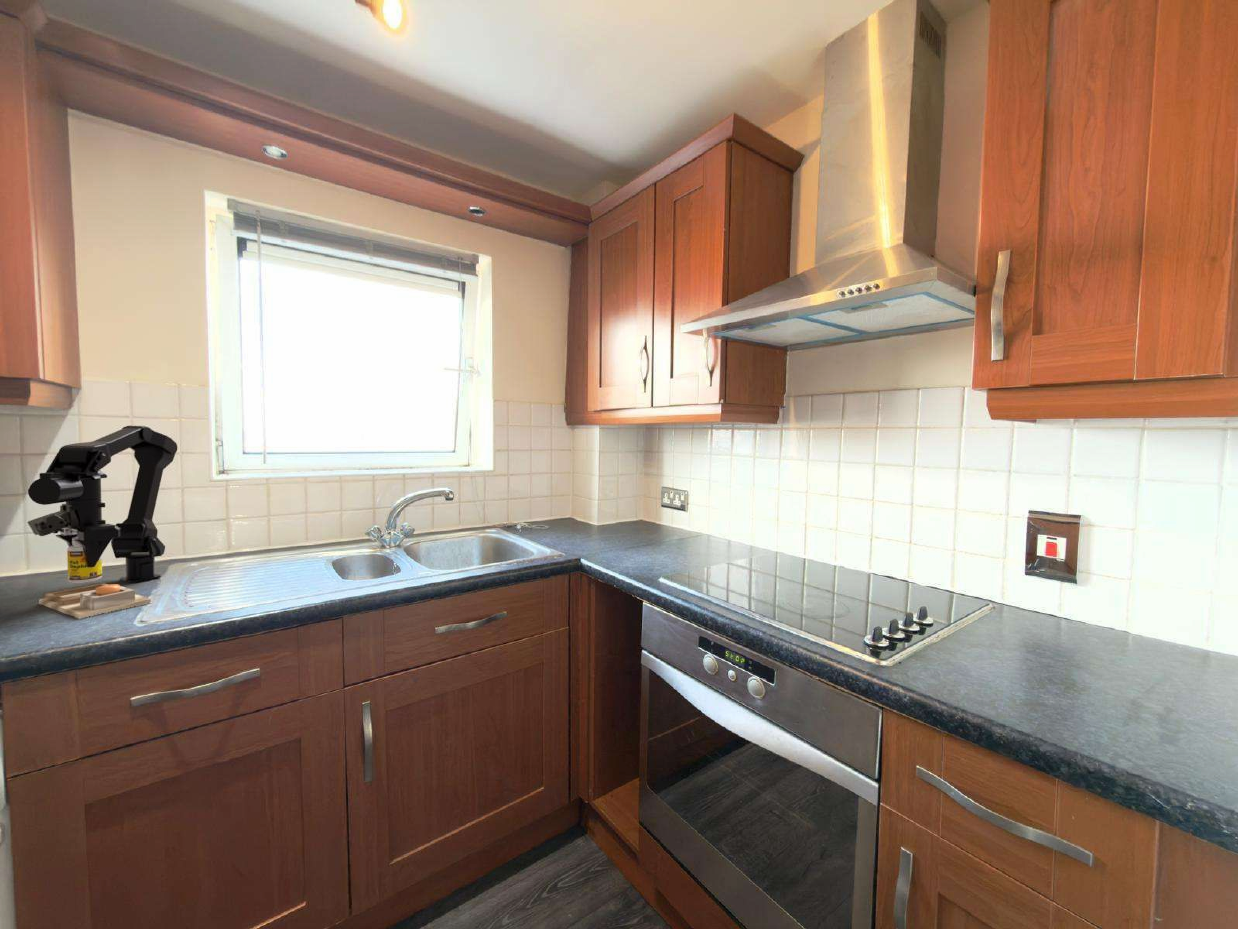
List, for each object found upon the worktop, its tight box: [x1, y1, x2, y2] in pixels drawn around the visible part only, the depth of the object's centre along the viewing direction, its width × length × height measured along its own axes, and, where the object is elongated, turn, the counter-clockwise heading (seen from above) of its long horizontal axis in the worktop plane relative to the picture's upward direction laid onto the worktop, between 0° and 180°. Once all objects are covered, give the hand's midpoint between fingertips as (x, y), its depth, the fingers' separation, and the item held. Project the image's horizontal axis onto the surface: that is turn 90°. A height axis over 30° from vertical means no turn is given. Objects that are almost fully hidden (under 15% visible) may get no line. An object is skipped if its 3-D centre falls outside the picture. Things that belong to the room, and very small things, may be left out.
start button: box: [96, 583, 121, 596], centre depth 114 cm, size 4×4×2 cm
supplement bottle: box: [66, 537, 103, 584], centre depth 119 cm, size 6×6×10 cm
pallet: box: [38, 582, 152, 620], centre depth 117 cm, size 20×12×4 cm, turn 65°
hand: (85, 565), depth 119 cm, fingers closed on supplement bottle, 5 cm apart
